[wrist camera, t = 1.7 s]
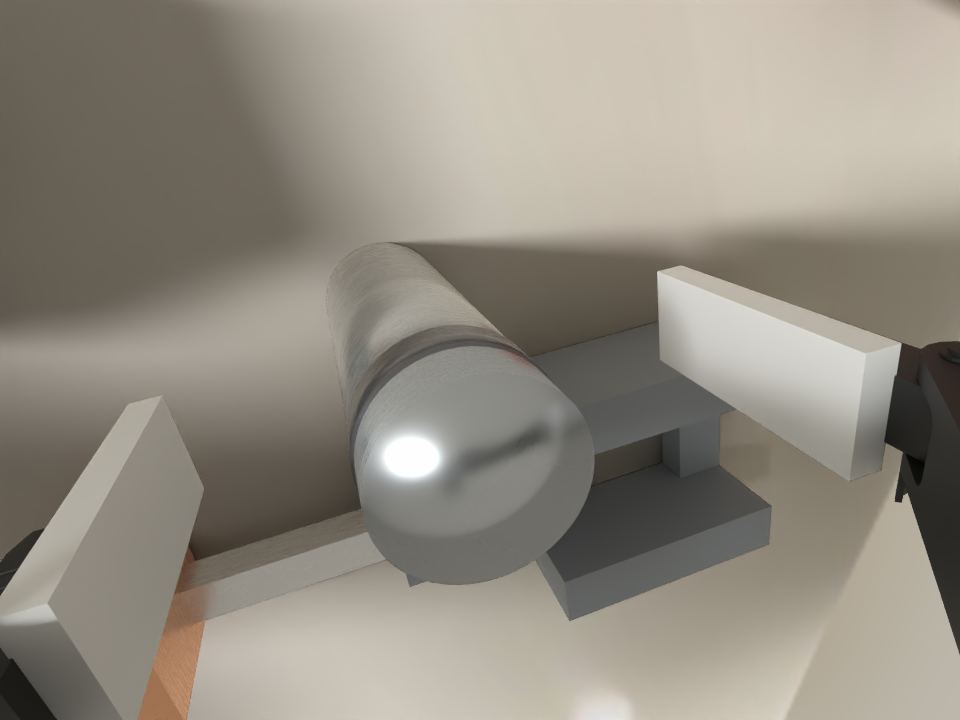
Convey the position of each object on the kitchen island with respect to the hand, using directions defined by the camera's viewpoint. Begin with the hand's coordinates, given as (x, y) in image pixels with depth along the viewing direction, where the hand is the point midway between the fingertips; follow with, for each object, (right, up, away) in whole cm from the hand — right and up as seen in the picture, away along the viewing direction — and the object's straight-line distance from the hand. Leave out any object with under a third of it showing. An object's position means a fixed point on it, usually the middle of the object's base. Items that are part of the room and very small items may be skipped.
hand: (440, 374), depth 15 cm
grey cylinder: (-3, +3, +7) cm, 8 cm away
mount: (+4, -4, +12) cm, 13 cm away
